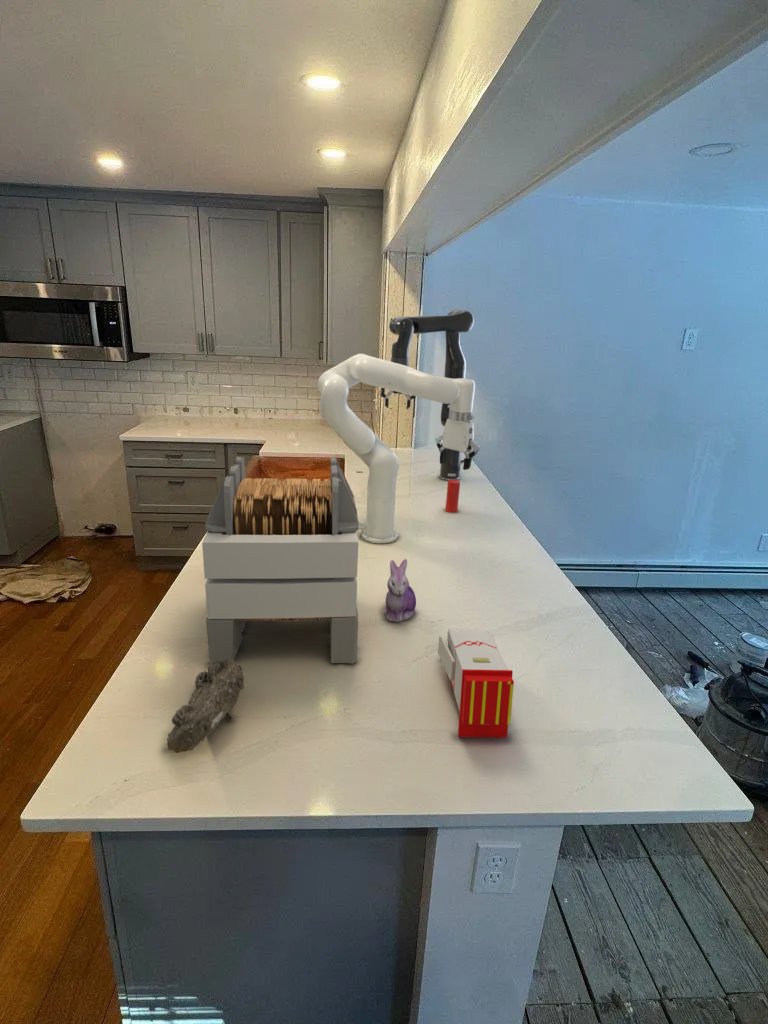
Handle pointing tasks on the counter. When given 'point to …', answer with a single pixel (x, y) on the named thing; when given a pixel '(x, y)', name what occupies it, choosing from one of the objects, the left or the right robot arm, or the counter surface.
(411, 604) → the figurine
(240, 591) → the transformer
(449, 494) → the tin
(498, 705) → the toy
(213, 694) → the fossil
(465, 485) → the counter surface
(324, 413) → the left robot arm
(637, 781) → the counter surface
